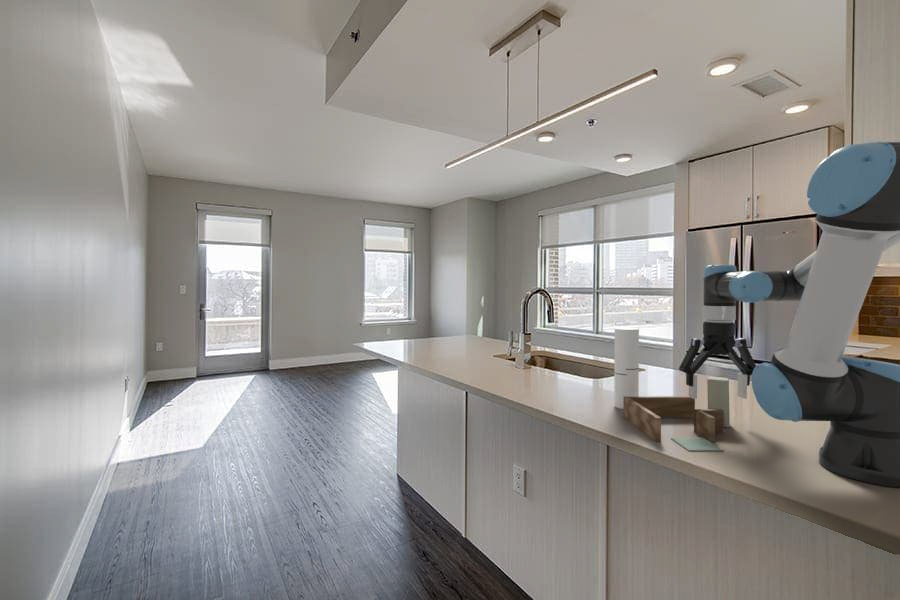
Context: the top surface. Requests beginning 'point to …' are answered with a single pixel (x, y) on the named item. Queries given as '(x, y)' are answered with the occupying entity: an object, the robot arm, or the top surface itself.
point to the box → (719, 396)
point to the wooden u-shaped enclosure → (671, 415)
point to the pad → (696, 444)
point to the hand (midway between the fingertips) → (717, 397)
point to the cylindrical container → (626, 365)
